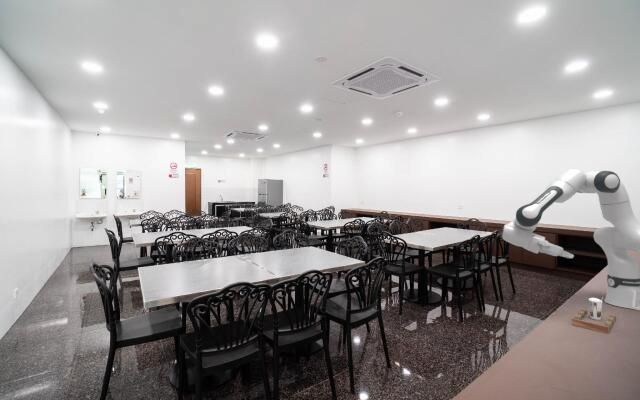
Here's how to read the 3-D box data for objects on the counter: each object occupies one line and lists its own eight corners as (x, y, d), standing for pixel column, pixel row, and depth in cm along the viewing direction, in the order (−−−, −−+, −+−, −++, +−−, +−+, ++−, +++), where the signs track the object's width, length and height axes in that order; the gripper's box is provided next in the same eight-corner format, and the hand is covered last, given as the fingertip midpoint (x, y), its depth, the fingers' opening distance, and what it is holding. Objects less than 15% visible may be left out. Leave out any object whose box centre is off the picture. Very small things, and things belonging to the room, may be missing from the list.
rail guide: (582, 311, 144) (582, 306, 144) (615, 318, 135) (615, 313, 135) (571, 324, 128) (571, 319, 128) (608, 333, 120) (608, 327, 120)
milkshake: (607, 321, 132) (607, 298, 132) (593, 320, 133) (592, 297, 133) (599, 317, 137) (599, 295, 137) (586, 316, 138) (586, 294, 138)
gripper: (541, 236, 140) (578, 250, 132) (539, 239, 156) (571, 251, 148) (535, 249, 140) (572, 263, 132) (534, 250, 157) (566, 263, 149)
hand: (571, 257), depth 140 cm, fingers open, 8 cm apart
